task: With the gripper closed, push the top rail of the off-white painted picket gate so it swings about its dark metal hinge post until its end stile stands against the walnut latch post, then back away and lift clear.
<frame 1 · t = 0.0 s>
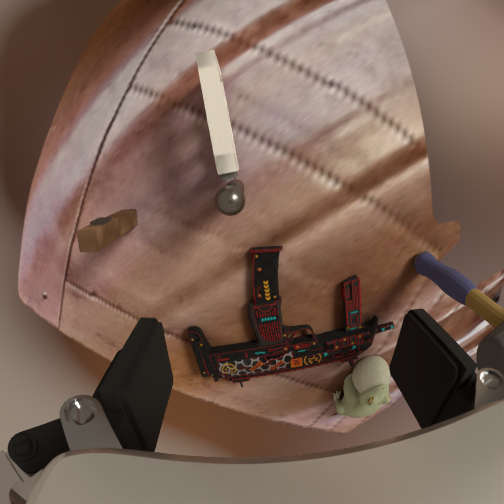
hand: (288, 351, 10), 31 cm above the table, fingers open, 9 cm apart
hinge post: (235, 187, 39), on the table
rubber mallet: (419, 259, 43), on the table
latch post: (129, 217, 39), on the table
gate: (219, 118, 31), point 5 cm above the table, hinge at -80.0°
figurine: (359, 379, 51), on the table
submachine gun: (293, 313, 46), on the table
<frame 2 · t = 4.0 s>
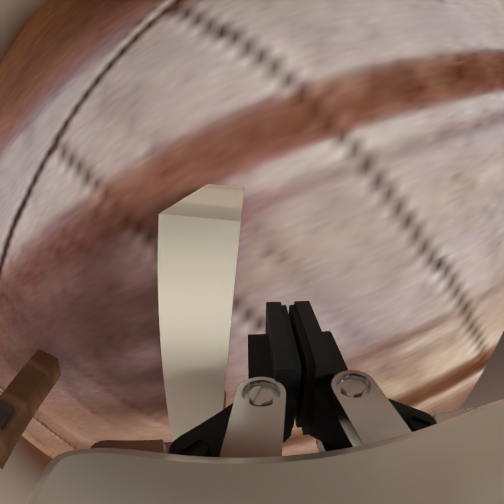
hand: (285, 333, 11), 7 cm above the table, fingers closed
latch post: (49, 362, 21), on the table
gate: (207, 349, 13), point 5 cm above the table, hinge at -79.8°, touching gripper
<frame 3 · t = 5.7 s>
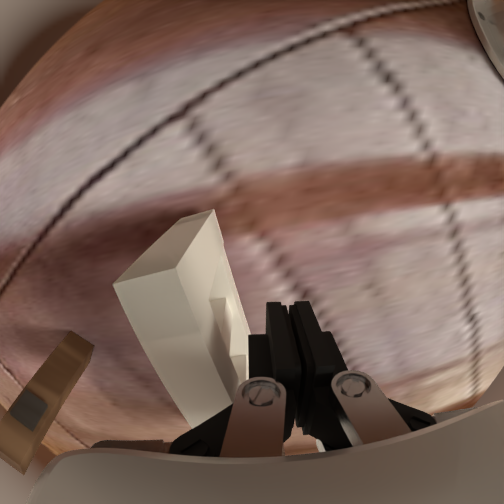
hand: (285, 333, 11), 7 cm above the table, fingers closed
latch post: (80, 347, 20), on the table
gate: (229, 369, 14), point 6 cm above the table, hinge at -45.0°, touching gripper
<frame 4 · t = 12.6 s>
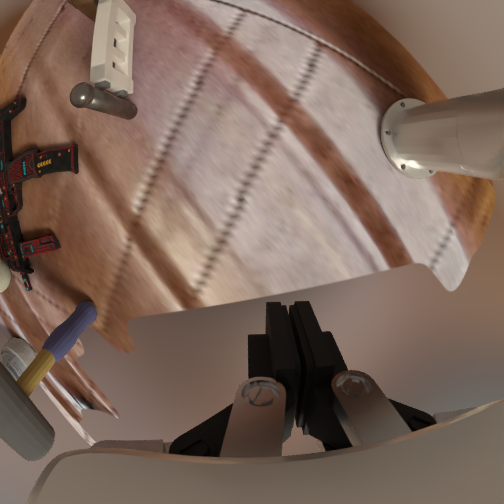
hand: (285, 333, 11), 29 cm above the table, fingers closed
hinge post: (129, 111, 34), on the table
rubber mallet: (91, 307, 43), on the table
latch post: (116, 25, 29), on the table
gate: (115, 44, 26), point 6 cm above the table, hinge at 3.3°
canister: (25, 353, 48), on the table
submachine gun: (31, 191, 37), on the table
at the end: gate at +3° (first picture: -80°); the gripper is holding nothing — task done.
